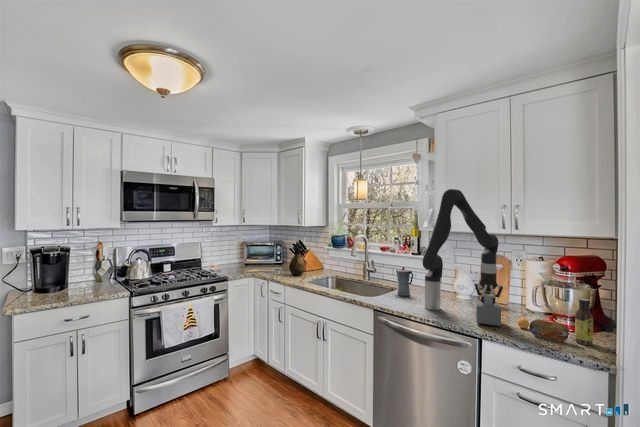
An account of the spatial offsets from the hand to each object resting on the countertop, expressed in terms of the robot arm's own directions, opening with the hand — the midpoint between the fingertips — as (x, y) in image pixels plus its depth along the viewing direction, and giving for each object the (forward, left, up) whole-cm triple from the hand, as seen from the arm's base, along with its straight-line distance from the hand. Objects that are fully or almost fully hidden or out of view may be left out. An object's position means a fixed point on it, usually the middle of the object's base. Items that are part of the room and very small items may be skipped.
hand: (488, 303), depth 169 cm
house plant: (-34, +22, -11) cm, 42 cm away
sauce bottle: (+27, +28, -11) cm, 41 cm away
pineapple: (-138, -101, -11) cm, 171 cm away
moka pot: (-61, -24, -11) cm, 67 cm away
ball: (+8, +14, -8) cm, 18 cm away
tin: (+21, +16, -11) cm, 29 cm away
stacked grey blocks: (0, 0, -9) cm, 9 cm away
